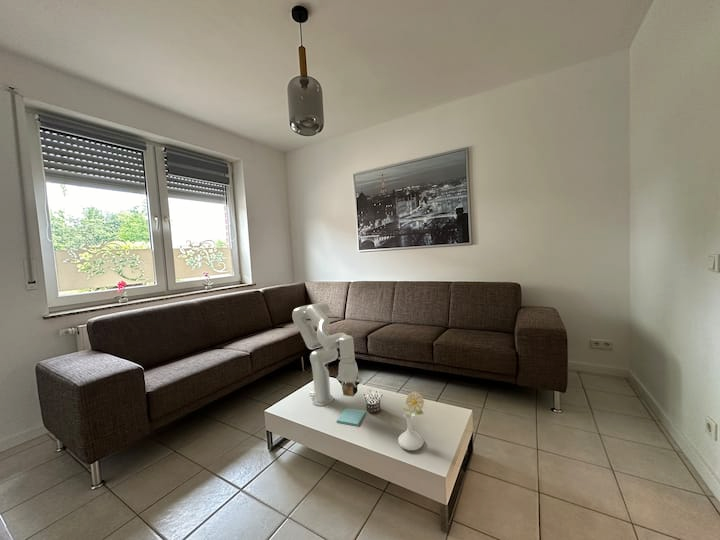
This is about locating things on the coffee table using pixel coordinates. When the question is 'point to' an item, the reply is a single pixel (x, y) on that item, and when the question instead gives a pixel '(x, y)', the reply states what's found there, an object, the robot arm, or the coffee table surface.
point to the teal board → (351, 417)
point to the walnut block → (348, 389)
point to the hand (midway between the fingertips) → (350, 392)
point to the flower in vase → (410, 437)
